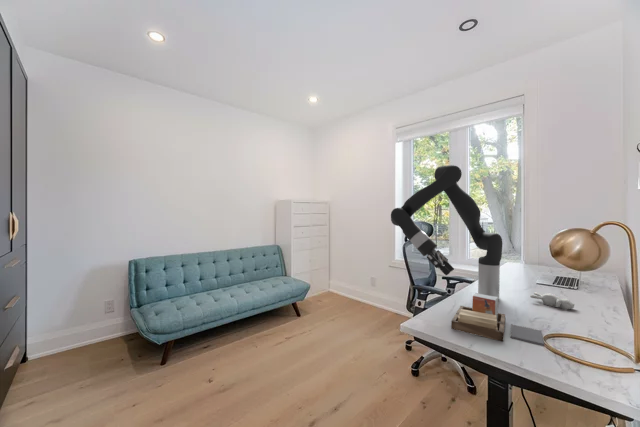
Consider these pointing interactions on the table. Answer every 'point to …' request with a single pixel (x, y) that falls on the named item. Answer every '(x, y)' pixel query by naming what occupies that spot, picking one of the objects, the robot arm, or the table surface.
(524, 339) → the charcoal mat
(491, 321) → the offcut stack
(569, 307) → the bunny figurine
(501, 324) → the walnut rack
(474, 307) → the small box
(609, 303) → the table surface
